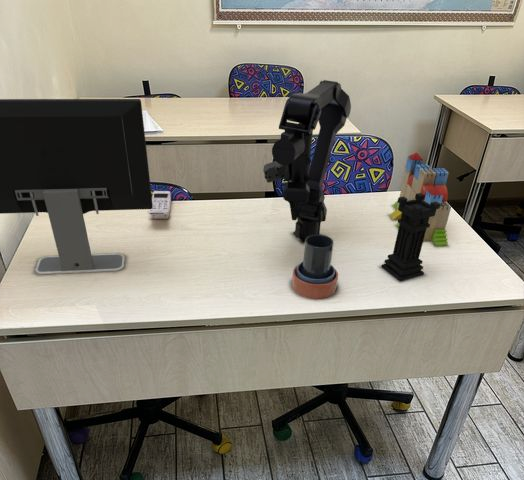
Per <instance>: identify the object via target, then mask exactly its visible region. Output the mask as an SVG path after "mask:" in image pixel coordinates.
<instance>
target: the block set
mask: <svg viewBox="0 0 524 480" xmlns="http://www.w3.org/2000/svg"><path fill="white" fill-rule="evenodd" d="M423 160H424V159H423V158H422V157H421V155H420V154H419V153H418V152H414V153H412V154H410V155H408V156H407V159H406V163H405V170H404V174H403V180H402V184H401V187H400V193H399V197H405V198H407V201H409V200H414V199H415V195H416V194H418V193H422V194H424V195H425V197H424V200H423V201H425V202H427V203H429V204H430V205H431V202H438V203H440V208H439V209H437V210H436V213H435V216H432V217H430V218H429V221H428V223H429V224H430V227H429V228H427V229H426V233H425V237H424V240H423V242H424V241H431V242H432V243H433V244H434V245H435V246H436V247H443V246H448V244H449V243H448V238H447V236H448V234H447V229H446V228H447V223H448V220H449V217H450V213H451V209H452V206H451V205H450V203H448V198H449V193H448V187H447V181H448V178H449V173H450V172H449V171H448V170H446V168H444V167H441V168H440V167H438V168H436V167H435V168H432V167H431V166H429V164H423ZM415 200H416V199H415ZM393 207H394V209H395V210H394V211H393V212H391V213H390V214H389V217H390V218H391V219H392V221H398V219H401V215H402V212H400V211H399V210H398V208H399V203H398V202H397V201H395V202H394V203H393ZM399 224H400V223H398V222H397V223H396V226H397V227H398V229H399Z"/></svg>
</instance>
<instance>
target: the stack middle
mask: <svg viewBox="0 0 524 480" xmlns="http://www.w3.org/2000/svg"><path fill="white" fill-rule="evenodd" d="M298 264H299V265H298ZM298 264H297V265H298V266H297V265H296V266H297V272H296V276H297V277H298V278H299V279H300V280H302V281H304V282H307V283H310V284H326V283H329V282H331V281H333V280H334V277H335V269H336V268H335V267H334V266H333V264H331V266H330V273H329V277H328V278H324V279H312V278H308V277H306V276H304V275H302V267H303V261H301V262H300V263H298ZM334 268H335V269H334Z"/></svg>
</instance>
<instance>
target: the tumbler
mask: <svg viewBox="0 0 524 480" xmlns="http://www.w3.org/2000/svg"><path fill="white" fill-rule="evenodd" d="M303 247H304V249H303V257H302V258H303V259H302V262H303V267H302V275H304V276H306V277H308V278H312V279H324V278H328V277H329V273H330V266H331V265H332V258H333V249H334V240H333V238H332V237H331V236H328V235H325V234H320V233H319V234H315V235H310V236H308V237H306V239H305V243H304V246H303Z"/></svg>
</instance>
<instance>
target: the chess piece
mask: <svg viewBox="0 0 524 480" xmlns="http://www.w3.org/2000/svg"><path fill="white" fill-rule="evenodd" d="M424 197H425V195H424V194H422V193H418V194H416V195H415V199H416V200H415V199H414V200H409V201H407V198H405V197H400V196H399V197H398V198H397V200H396V202H398V203H399V208H398V210H399V211H400V212H402V215H401V219H398V220H397V223H400V224H399V228H398V230H397V233H396V237H395V241H394V242H395V243H394V247H393V251H392V253H390V254H388V255H387V259H384V263H382V264H381V266H380V268H382V269H383V270H384V271H386V272H387V273H388V274H389V275H391V276H392V277H393V278H394V279H396V280H397V281H398V282H404V281H408V280H410V279H415V278H417V277H420V276H421V277H422V276H424V274H425V271H424V270H423V269H424V266H423V265H422V264H423V260H422V259H420V256H421V251H422V248H423V244H424V241H423V240H424V237H425V233H426V229H427V228H429V227H430V224H429V223H428V221H429V218H430V217H432V216H435V213H436V210H437V209H439V208H440V203H438V202H431V205H430V204H429V203H427V202H425V201H423V200H424Z"/></svg>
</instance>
